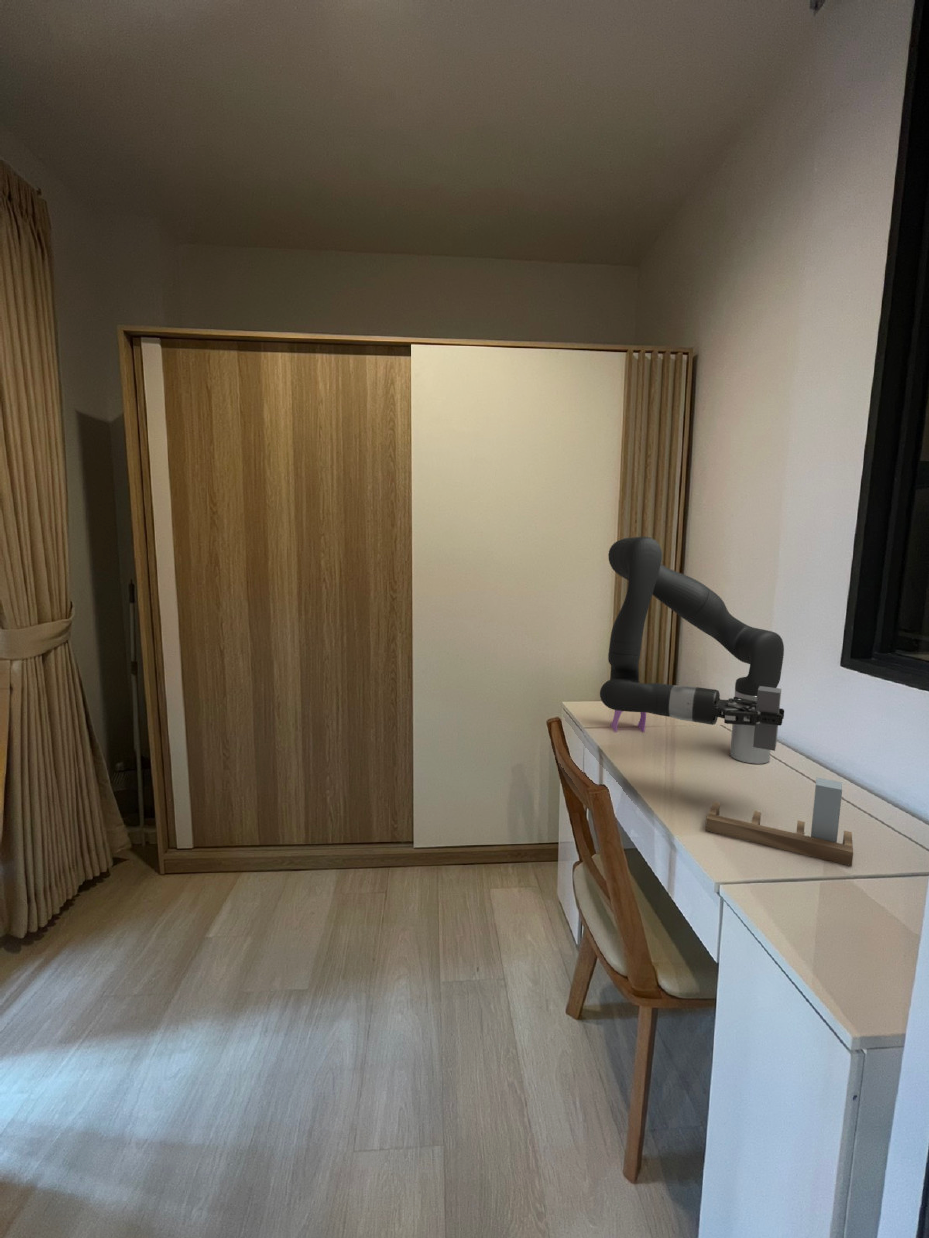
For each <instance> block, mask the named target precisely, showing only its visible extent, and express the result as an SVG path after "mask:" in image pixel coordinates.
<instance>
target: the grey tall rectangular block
mask: <svg viewBox="0 0 929 1238" xmlns="http://www.w3.org/2000/svg"><path fill="white" fill-rule="evenodd" d="M781 698H782V688H778V687H777V688H772V687H764V686H760V687H759V689H758V694H757V706H756V710H759V711H761V714H762V712H769V713H776V714H779V710H780V708H781ZM778 731H779V725H772V724H765V723H760V724H756V725H755V730H754V742H753V747H756V748H761V749H767V750H771V751H776V749H777V745H778V743H777V742H778Z"/></svg>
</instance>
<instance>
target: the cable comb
mask: <svg viewBox="0 0 929 1238" xmlns="http://www.w3.org/2000/svg"><path fill="white" fill-rule="evenodd" d="M720 807H721V803H720V802H716V801H714V802H713V803H712V806H710V809H709V812H708V813H707V816H706V822H705V831H706V832H711V833H714V834H715V833H716V834H720V835H723V836H727V837H731V838H736V839H740V840H743V841H748V842H751V843H756V844H760V845H764V846H768V847H773V848H776V849H779V850H780V849H781V850H784V851H788V852H792V853H797V854H800V855H805V856H809V857H813V858H818V859H821V860H826V861H829V862H833V863H834V862H835V863H837V864H838V863H839V864H841V865H845V866H846V865H847V866H850V867H852V866H853V858H854V845H853V843H854V842H853V833H852V831H848V830H843V837H842V843H840V842H837V843H836V842H831V841H827V840H823V839H818V838H814V837H811V835H810V836H808V835H805V823H806V821H803V820H797V823H796V831H795V832H791V831H787V830H784V829H779V828H775V827H770V826H767V825H761V817H762V812H761V811H757V810H754V811H753V815H752V819H751V822H748V821H745V820H740V819H735V818H732V817H731V818H730V817H727V816H722V815H720V812H721V811H720V809H721V808H720Z"/></svg>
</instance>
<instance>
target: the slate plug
mask: <svg viewBox="0 0 929 1238" xmlns="http://www.w3.org/2000/svg"><path fill="white" fill-rule="evenodd" d="M815 779H816V780H815V788H814V789H815V790H814V799H813V809H812V811H813V812H812V820H811V831H810V837H814V838H818V839H823V840H827V841H831V842H836V843H838V834H839V824H840V815H841V807H842V806H841V805H842V796H843V795H842V794H843V782H842V781H837V780H832V779H828V778H827V779H826V778H822V777H816V778H815Z"/></svg>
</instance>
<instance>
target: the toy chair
mask: <svg viewBox="0 0 929 1238" xmlns="http://www.w3.org/2000/svg"><path fill="white" fill-rule="evenodd" d="M623 712H624V711H618V710H614V715H613V719H612V721H611V723H610V727H611V729H612V730H613V732H614V733H618V732H617V731H618V726H619V725H618V724H619V720H620V716H621V714H622V713H623ZM639 713H640V717H639V721H638V723H637V727H639V728H638V729H639V730H640V729H641V730H640V731H641V732H642V733H643V732H644V733H645V731H646V730H645V729H646V723H647V713H646V712H639Z"/></svg>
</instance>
